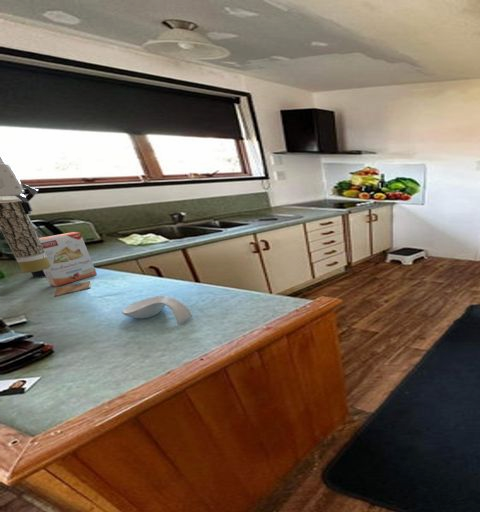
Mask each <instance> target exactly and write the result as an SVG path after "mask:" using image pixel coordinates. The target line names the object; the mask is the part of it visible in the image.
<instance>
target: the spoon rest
mask: <svg viewBox="0 0 480 512" xmlns="http://www.w3.org/2000/svg"><path fill="white" fill-rule="evenodd" d="M165 307H167V308H169V309H170V310H171V311H172V313H173V314H174V318H175V320H176V324H177V325H180V324H182V323H183V322H185V321H187V320H189V319H191V318H192V317H193V313H192V312H191V311H190V310H189V308H188V307H187V306H186V305H184V304H183V303H182V302H181V301H179V300H178V299H176V298H174V297H171V296H166V295H158V296H151V297H147V298H145V299H141V300H139V301H136V302H134V303H132V304H130V305H127V306H126V307H124V308H123V309H122V310H121V314H123V315H124V316H126V317H129V318H133V319H134V318H135V319H141V320H142V319H143V320H144V319H148V318H152V317H154V316H157V315H158V314H160V313H161V311H163V309H164V308H165Z"/></svg>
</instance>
